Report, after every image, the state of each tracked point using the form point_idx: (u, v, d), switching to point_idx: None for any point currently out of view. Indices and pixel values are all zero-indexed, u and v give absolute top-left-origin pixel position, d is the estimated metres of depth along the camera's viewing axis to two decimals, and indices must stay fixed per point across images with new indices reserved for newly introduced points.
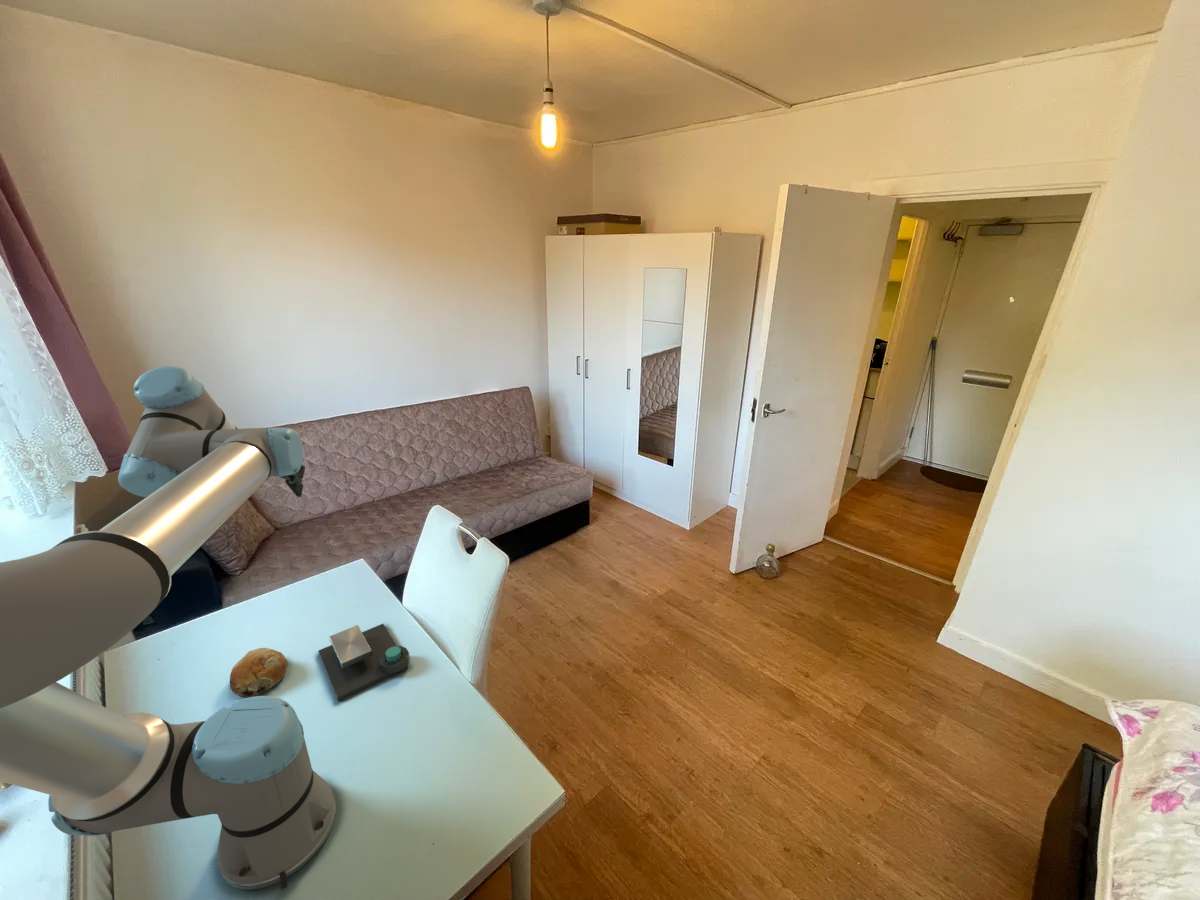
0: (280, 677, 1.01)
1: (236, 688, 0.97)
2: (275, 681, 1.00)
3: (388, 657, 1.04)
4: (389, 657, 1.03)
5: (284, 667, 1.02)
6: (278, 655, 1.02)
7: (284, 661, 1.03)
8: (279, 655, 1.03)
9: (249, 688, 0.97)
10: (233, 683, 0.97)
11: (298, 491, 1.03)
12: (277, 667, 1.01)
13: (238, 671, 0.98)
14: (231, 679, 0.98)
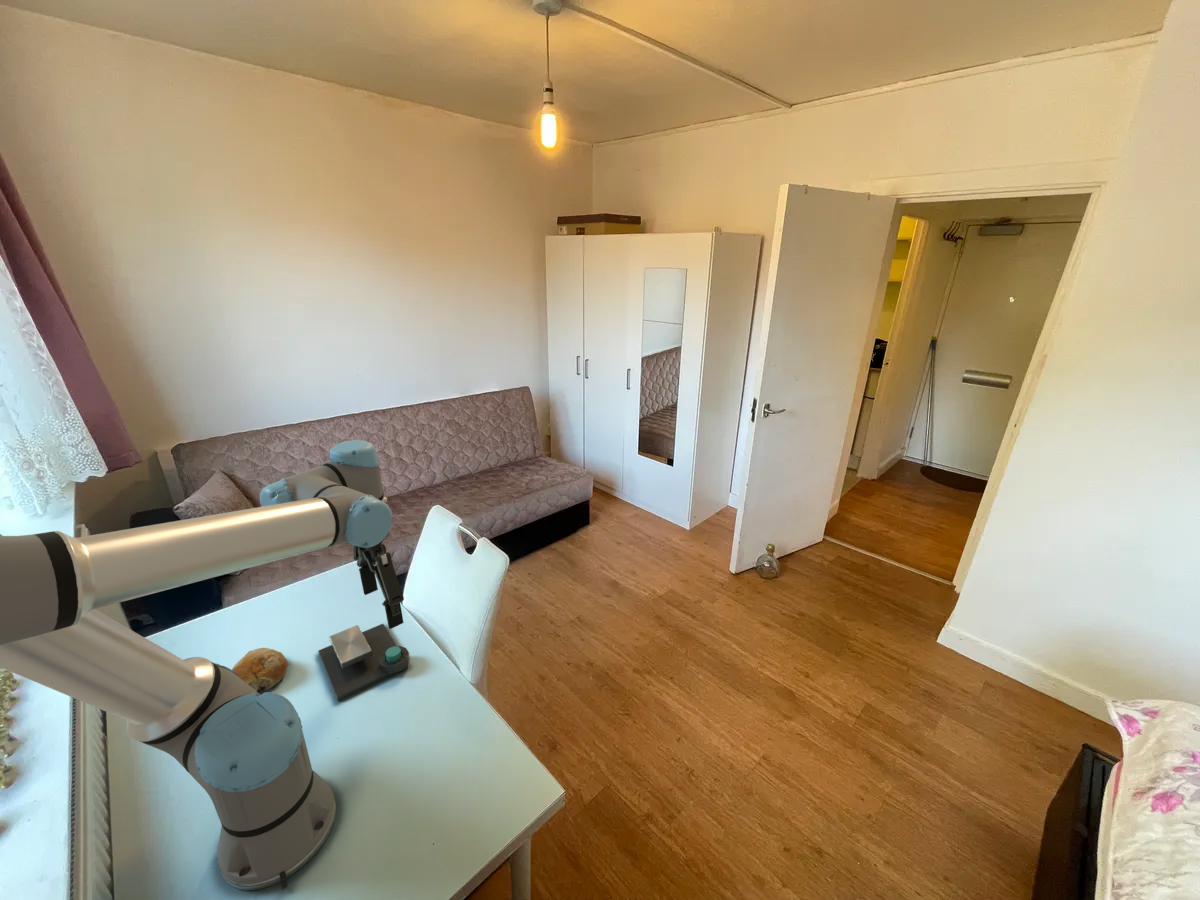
0: (280, 677, 1.01)
1: None
2: (275, 681, 1.00)
3: (388, 657, 1.04)
4: (389, 657, 1.03)
5: (284, 667, 1.02)
6: (278, 655, 1.02)
7: (284, 661, 1.03)
8: (279, 655, 1.03)
9: None
10: None
11: (390, 621, 0.95)
12: (277, 667, 1.01)
13: (238, 671, 0.98)
14: None
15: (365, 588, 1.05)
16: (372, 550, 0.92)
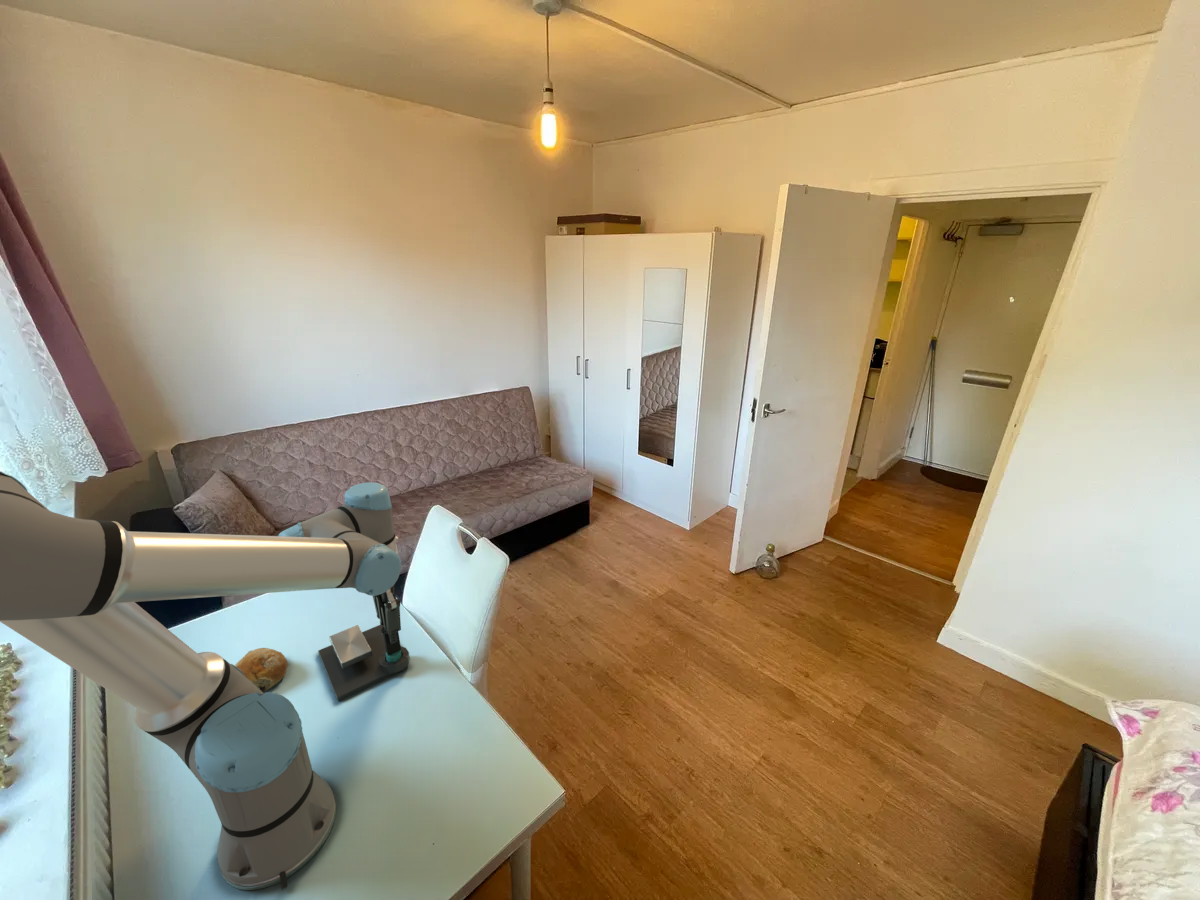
0: (280, 677, 1.01)
1: None
2: (275, 681, 1.00)
3: (388, 657, 1.04)
4: (389, 658, 1.04)
5: (284, 667, 1.02)
6: (278, 655, 1.02)
7: (284, 661, 1.03)
8: (279, 655, 1.03)
9: None
10: None
11: (388, 648, 1.03)
12: (277, 667, 1.01)
13: None
14: None
15: None
16: None
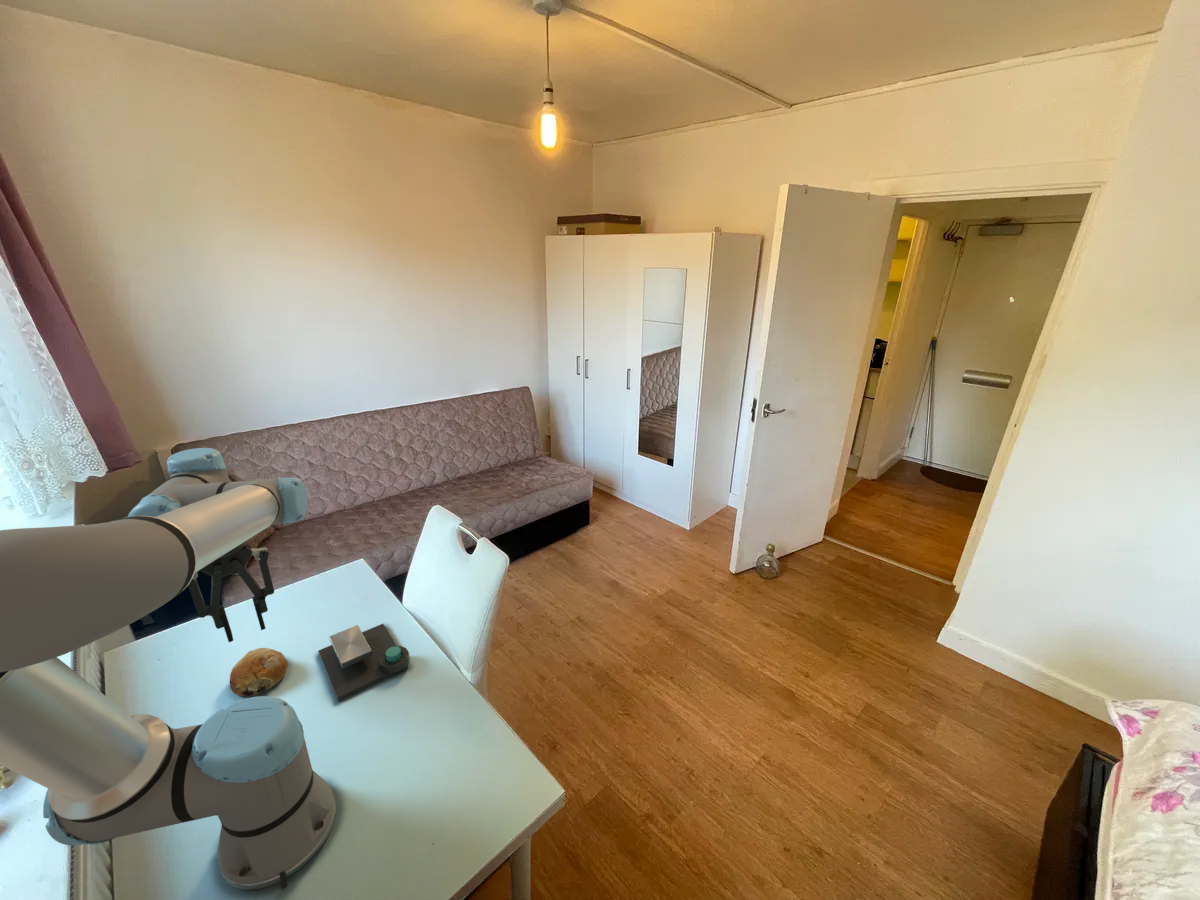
0: (280, 678, 1.01)
1: (236, 688, 0.97)
2: (275, 681, 1.00)
3: (388, 657, 1.04)
4: (389, 657, 1.03)
5: (284, 667, 1.02)
6: (278, 655, 1.02)
7: (284, 661, 1.03)
8: (279, 655, 1.03)
9: (249, 688, 0.97)
10: (233, 683, 0.97)
11: (263, 621, 0.98)
12: (277, 667, 1.01)
13: (238, 671, 0.98)
14: (231, 679, 0.98)
15: (231, 633, 0.95)
16: (247, 548, 0.92)
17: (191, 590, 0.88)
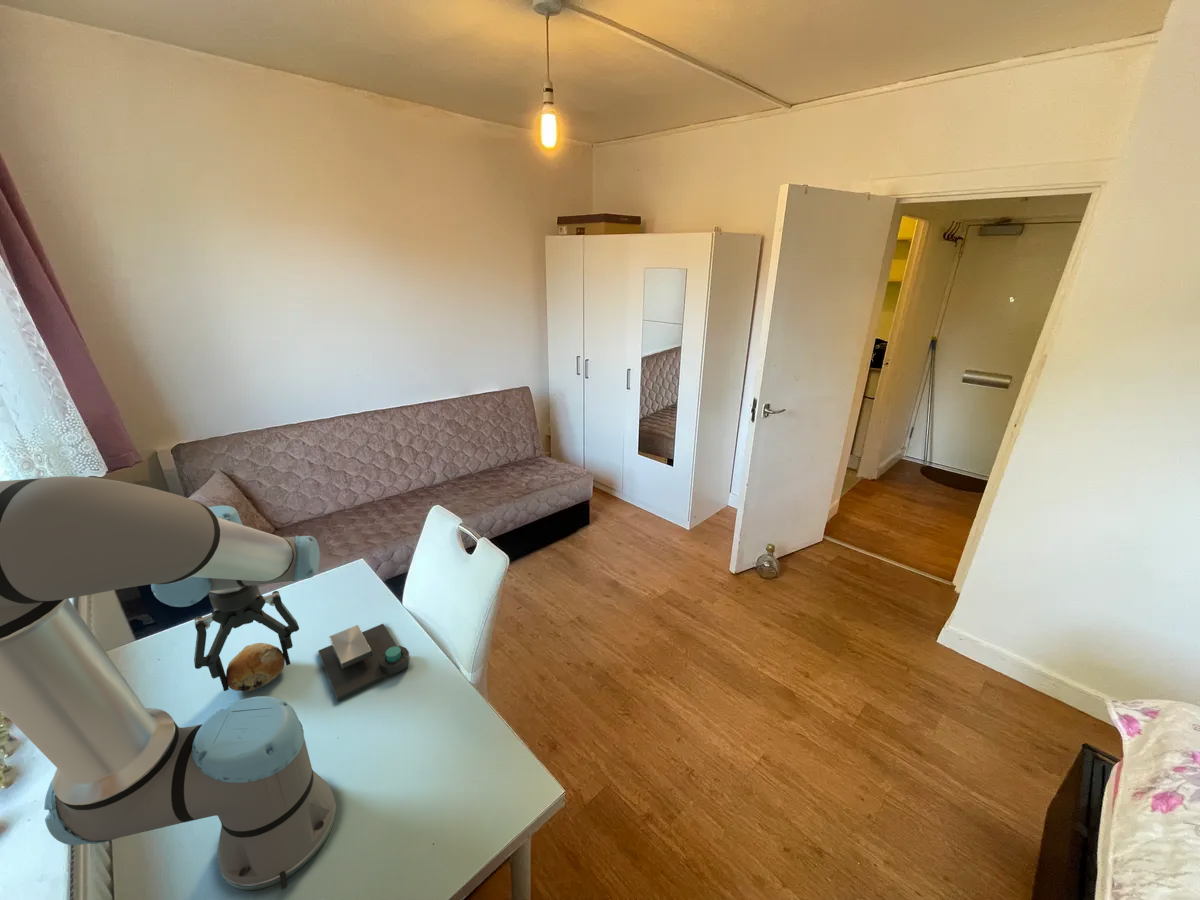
0: (277, 673, 1.00)
1: (232, 683, 0.95)
2: (272, 676, 0.99)
3: (388, 657, 1.04)
4: (389, 657, 1.03)
5: (281, 662, 1.01)
6: (275, 650, 1.01)
7: (281, 656, 1.02)
8: (276, 650, 1.02)
9: (245, 683, 0.96)
10: (229, 678, 0.96)
11: (288, 656, 1.03)
12: (274, 661, 1.00)
13: (234, 665, 0.97)
14: (227, 674, 0.97)
15: (226, 682, 0.97)
16: (260, 598, 0.96)
17: (199, 639, 0.91)
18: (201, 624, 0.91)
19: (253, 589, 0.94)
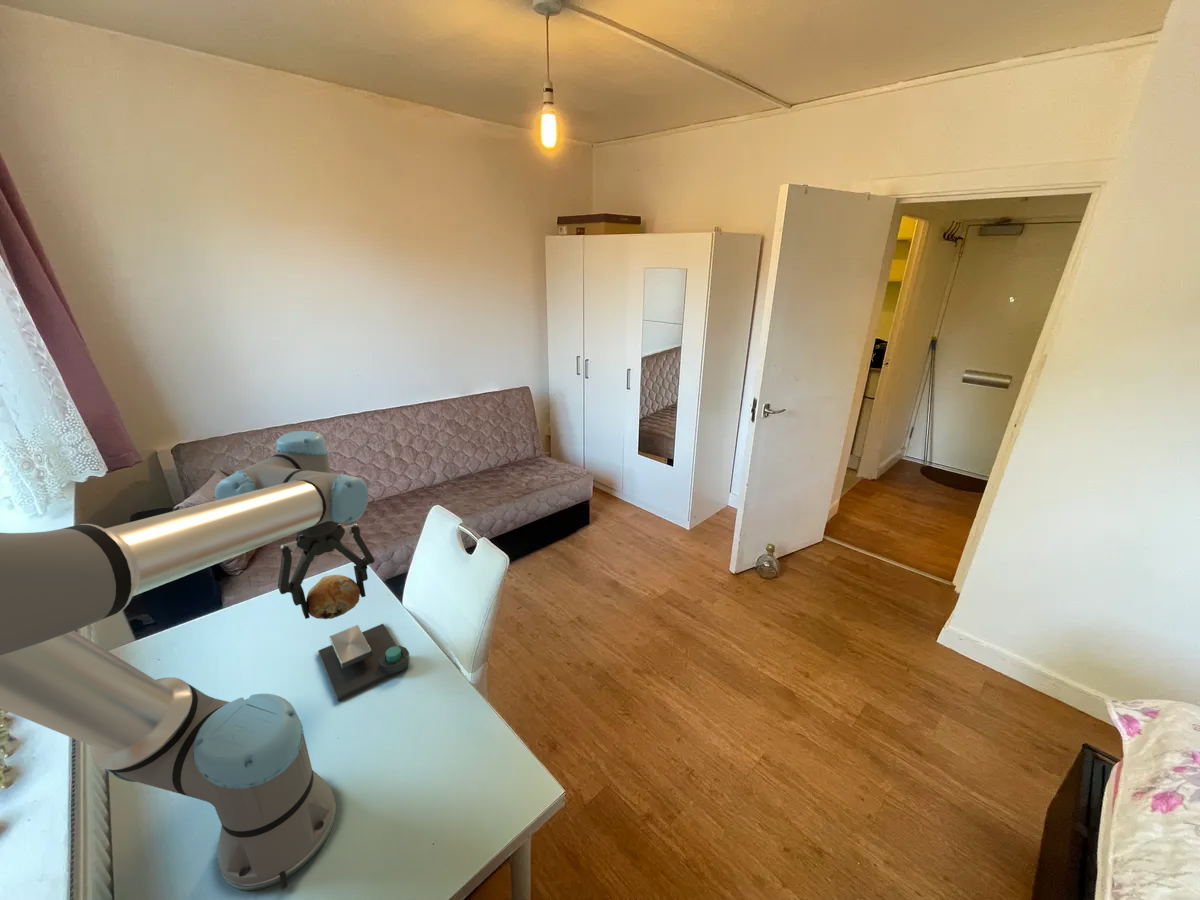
0: (355, 602, 1.01)
1: (314, 610, 0.96)
2: (351, 605, 1.00)
3: (388, 657, 1.04)
4: (389, 657, 1.03)
5: (358, 592, 1.02)
6: (352, 581, 1.02)
7: (358, 587, 1.03)
8: (353, 581, 1.03)
9: (327, 610, 0.97)
10: (311, 605, 0.97)
11: None
12: (353, 591, 1.01)
13: (315, 593, 0.98)
14: (308, 602, 0.98)
15: (307, 610, 0.98)
16: (341, 527, 0.97)
17: (285, 564, 0.92)
18: (287, 549, 0.91)
19: None
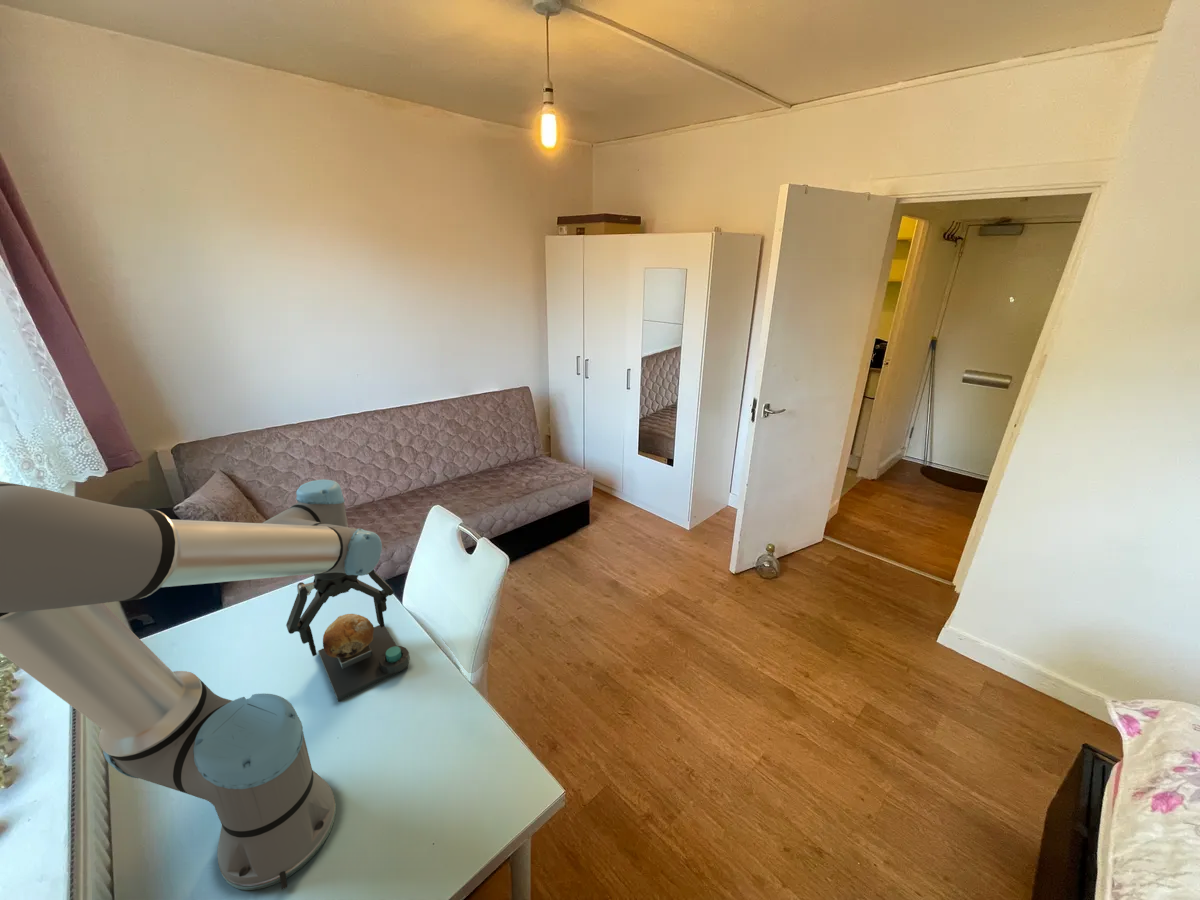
0: (369, 641, 1.05)
1: (331, 650, 1.01)
2: (365, 644, 1.04)
3: (388, 657, 1.04)
4: (389, 657, 1.03)
5: (372, 631, 1.06)
6: (366, 620, 1.07)
7: (372, 626, 1.07)
8: (367, 620, 1.07)
9: (343, 650, 1.01)
10: (327, 645, 1.02)
11: (383, 619, 1.09)
12: (367, 631, 1.05)
13: (331, 634, 1.02)
14: (325, 642, 1.02)
15: None
16: None
17: (299, 604, 0.96)
18: (305, 590, 0.95)
19: None
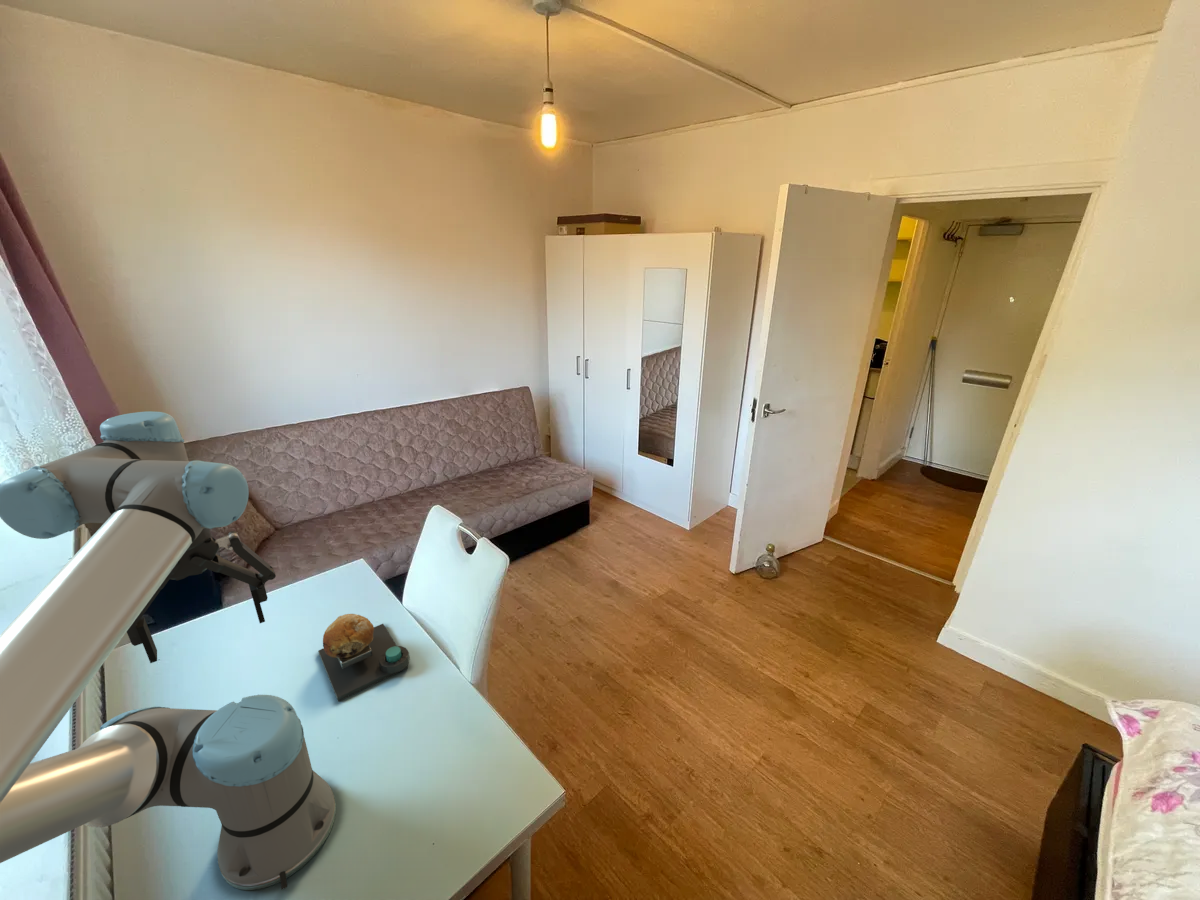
0: (369, 641, 1.05)
1: (331, 650, 1.01)
2: (365, 644, 1.04)
3: (388, 657, 1.04)
4: (389, 657, 1.03)
5: (372, 631, 1.06)
6: (366, 620, 1.07)
7: (372, 626, 1.07)
8: (367, 620, 1.07)
9: (343, 650, 1.01)
10: (327, 645, 1.02)
11: (262, 612, 0.80)
12: (367, 631, 1.05)
13: (331, 634, 1.02)
14: (325, 641, 1.02)
15: (154, 651, 0.72)
16: (212, 542, 0.73)
17: None
18: None
19: None
